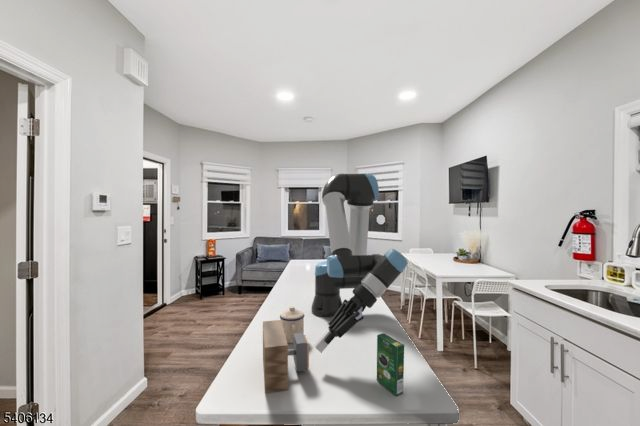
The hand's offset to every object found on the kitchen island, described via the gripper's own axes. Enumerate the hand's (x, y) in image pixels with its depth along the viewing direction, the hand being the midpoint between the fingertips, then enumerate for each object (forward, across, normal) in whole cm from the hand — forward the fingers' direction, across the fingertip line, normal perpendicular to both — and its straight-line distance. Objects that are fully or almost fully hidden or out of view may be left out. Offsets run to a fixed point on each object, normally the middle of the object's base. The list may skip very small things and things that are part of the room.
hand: (317, 349), depth 87 cm
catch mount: (+13, 0, +5) cm, 14 cm away
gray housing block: (+8, 0, +3) cm, 9 cm away
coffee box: (-8, -14, -16) cm, 23 cm away
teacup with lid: (+8, +20, 0) cm, 21 cm away
